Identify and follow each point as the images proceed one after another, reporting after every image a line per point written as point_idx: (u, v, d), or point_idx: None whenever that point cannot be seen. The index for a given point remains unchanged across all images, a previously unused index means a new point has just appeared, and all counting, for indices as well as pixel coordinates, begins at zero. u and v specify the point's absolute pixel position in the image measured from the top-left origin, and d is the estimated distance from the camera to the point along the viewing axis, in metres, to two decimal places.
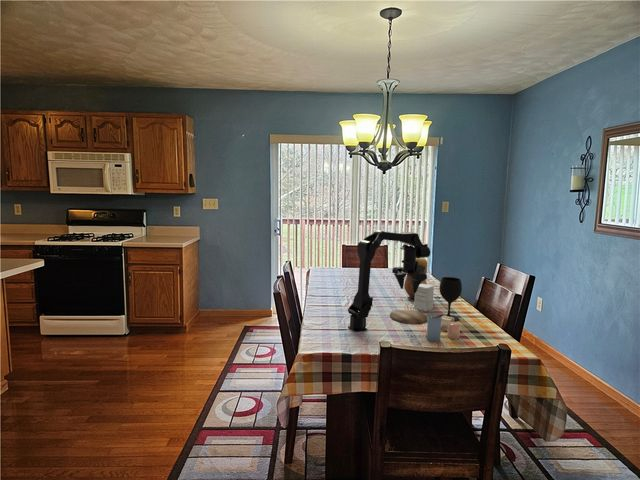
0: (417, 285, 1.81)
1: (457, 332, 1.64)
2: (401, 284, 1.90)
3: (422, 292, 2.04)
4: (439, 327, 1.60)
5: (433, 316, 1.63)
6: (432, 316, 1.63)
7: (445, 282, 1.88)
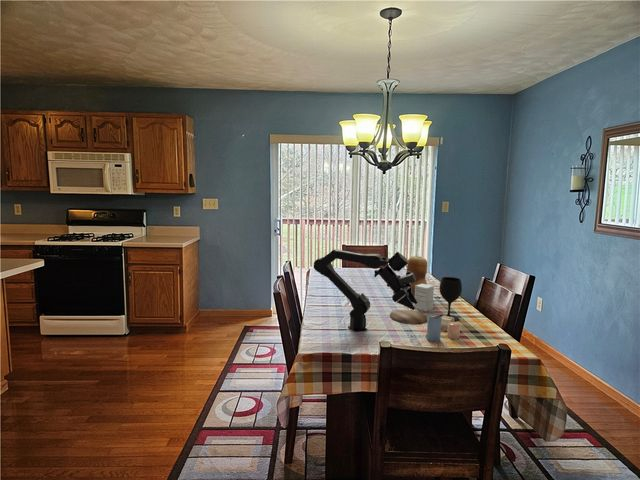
0: (408, 302, 1.60)
1: (457, 332, 1.64)
2: (412, 300, 1.69)
3: (422, 292, 2.04)
4: (439, 327, 1.60)
5: (433, 316, 1.63)
6: (432, 316, 1.63)
7: (445, 282, 1.88)
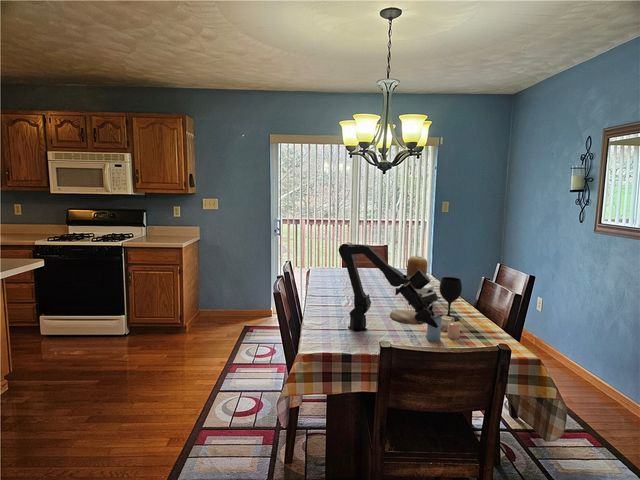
0: (431, 320, 1.59)
1: (457, 332, 1.64)
2: None
3: (422, 292, 2.04)
4: (439, 327, 1.60)
5: (433, 316, 1.63)
6: (432, 316, 1.63)
7: (445, 282, 1.88)
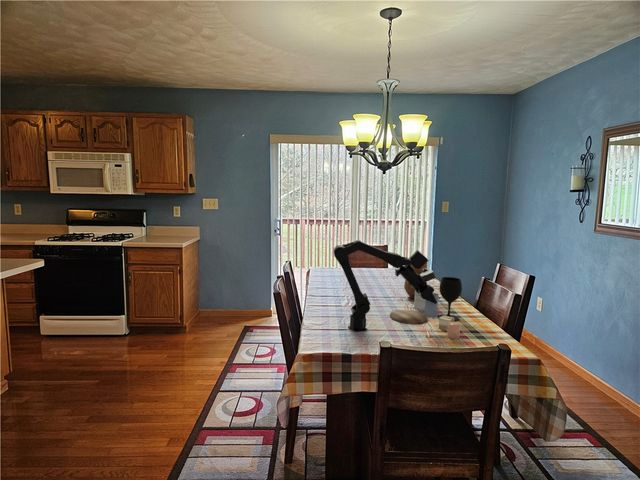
0: (432, 297, 1.69)
1: (457, 332, 1.64)
2: None
3: None
4: (437, 303, 1.72)
5: None
6: None
7: (445, 282, 1.88)
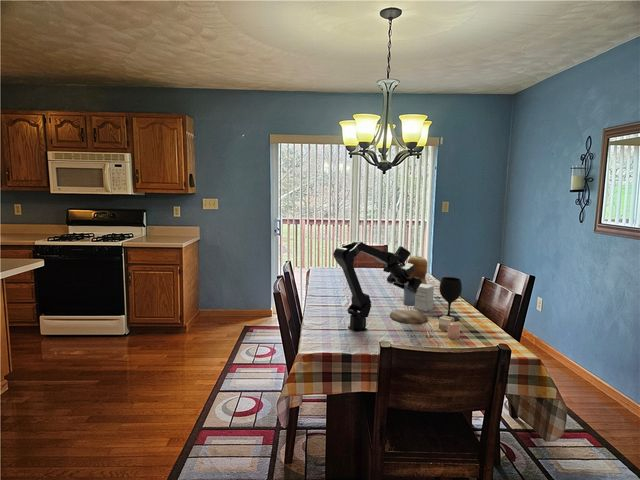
0: None
1: (457, 332, 1.64)
2: None
3: (422, 292, 2.04)
4: None
5: None
6: None
7: (445, 282, 1.88)
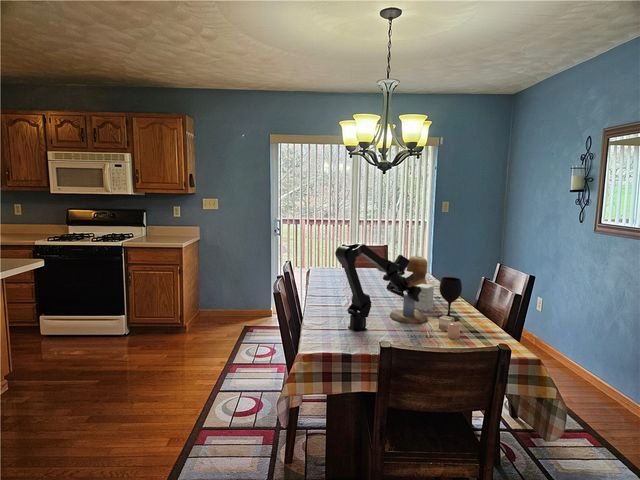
0: (416, 296, 1.85)
1: (457, 332, 1.64)
2: (402, 295, 1.94)
3: (422, 292, 2.04)
4: None
5: None
6: None
7: (445, 282, 1.88)
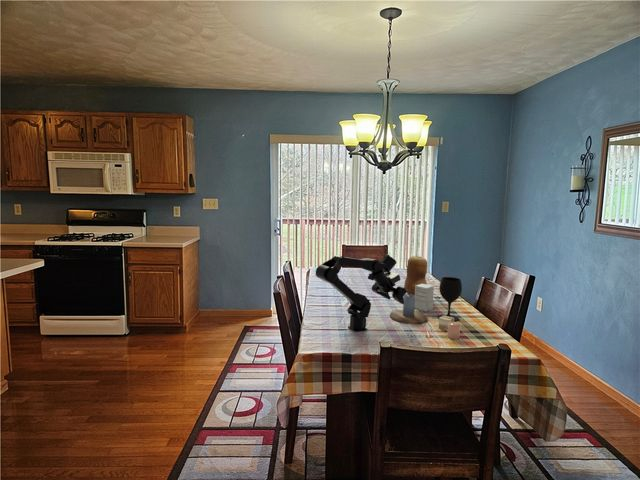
0: (402, 298, 1.80)
1: (457, 332, 1.64)
2: (387, 296, 1.89)
3: (422, 292, 2.04)
4: None
5: (408, 295, 1.91)
6: (407, 295, 1.91)
7: (445, 282, 1.88)
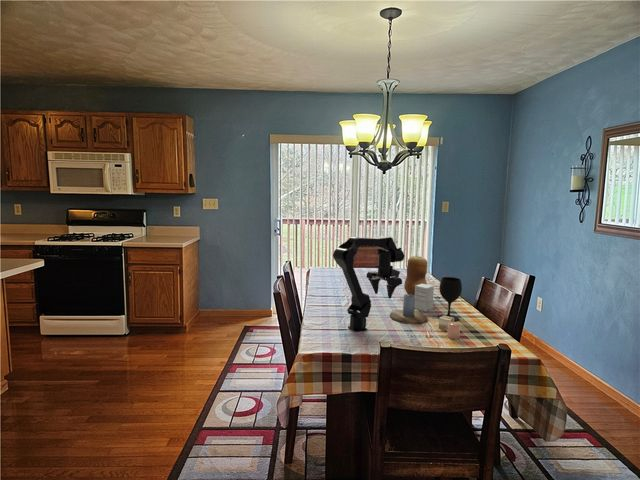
0: (392, 290, 1.77)
1: (457, 332, 1.64)
2: (376, 289, 1.85)
3: (422, 292, 2.04)
4: None
5: (408, 295, 1.91)
6: (407, 295, 1.91)
7: (445, 282, 1.88)
